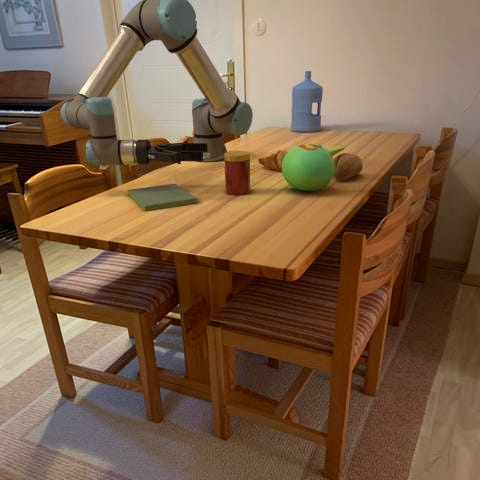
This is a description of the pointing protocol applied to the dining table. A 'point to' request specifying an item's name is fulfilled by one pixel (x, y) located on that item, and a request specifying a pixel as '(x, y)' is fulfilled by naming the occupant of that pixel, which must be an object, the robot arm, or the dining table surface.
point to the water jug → (306, 105)
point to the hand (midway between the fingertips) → (205, 151)
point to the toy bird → (309, 166)
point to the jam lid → (236, 156)
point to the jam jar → (237, 177)
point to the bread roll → (347, 166)
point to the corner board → (161, 196)
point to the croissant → (273, 161)
